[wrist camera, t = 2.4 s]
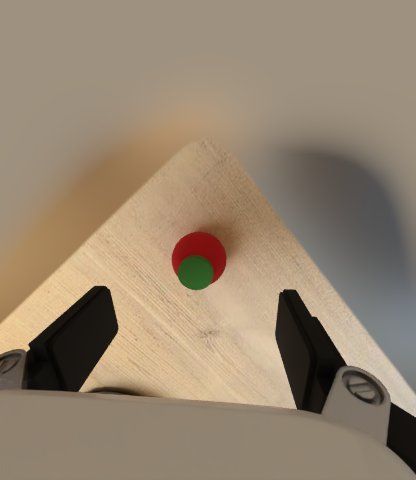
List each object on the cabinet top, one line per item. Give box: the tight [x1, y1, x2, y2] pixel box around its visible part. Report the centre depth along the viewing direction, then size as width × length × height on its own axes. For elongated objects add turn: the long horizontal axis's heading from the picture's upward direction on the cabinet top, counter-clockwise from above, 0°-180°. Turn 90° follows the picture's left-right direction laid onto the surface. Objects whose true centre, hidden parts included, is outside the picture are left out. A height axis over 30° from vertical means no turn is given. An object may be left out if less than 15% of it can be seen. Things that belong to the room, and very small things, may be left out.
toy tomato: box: [172, 232, 226, 290], centre depth 17 cm, size 5×5×5 cm
